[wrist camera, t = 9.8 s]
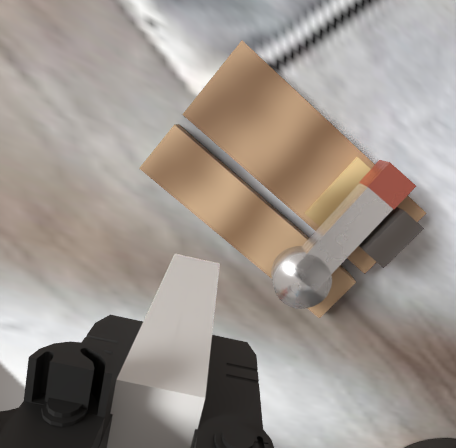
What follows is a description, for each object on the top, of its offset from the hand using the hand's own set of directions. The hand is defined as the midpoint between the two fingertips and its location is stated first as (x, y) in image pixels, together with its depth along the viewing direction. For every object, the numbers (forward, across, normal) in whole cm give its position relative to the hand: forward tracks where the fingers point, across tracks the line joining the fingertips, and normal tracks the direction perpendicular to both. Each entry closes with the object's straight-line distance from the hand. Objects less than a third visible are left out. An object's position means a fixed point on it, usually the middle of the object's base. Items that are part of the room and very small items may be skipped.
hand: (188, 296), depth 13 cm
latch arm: (+18, -10, +1) cm, 21 cm away
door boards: (+22, -5, -1) cm, 23 cm away
